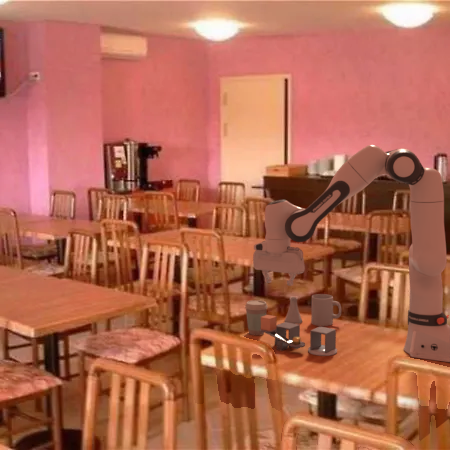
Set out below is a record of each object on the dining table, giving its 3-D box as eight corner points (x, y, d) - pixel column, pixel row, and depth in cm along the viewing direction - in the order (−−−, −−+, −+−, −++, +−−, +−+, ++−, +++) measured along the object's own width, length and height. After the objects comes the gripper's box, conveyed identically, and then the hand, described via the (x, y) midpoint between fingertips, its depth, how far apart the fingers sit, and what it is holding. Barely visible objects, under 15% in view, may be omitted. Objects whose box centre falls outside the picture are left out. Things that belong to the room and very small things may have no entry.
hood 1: (299, 343, 279) (299, 324, 278) (289, 347, 274) (289, 328, 273) (285, 340, 283) (285, 321, 282) (275, 344, 278) (275, 325, 277)
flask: (301, 325, 304) (301, 300, 303) (283, 324, 305) (283, 299, 304) (303, 320, 311) (303, 296, 310) (285, 319, 312) (285, 295, 311)
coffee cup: (265, 336, 288) (265, 305, 286) (243, 335, 290) (243, 304, 288) (269, 330, 296) (269, 300, 295) (247, 329, 298) (247, 299, 296)
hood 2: (335, 348, 270) (335, 329, 269) (326, 353, 265) (326, 333, 264) (319, 345, 274) (320, 326, 273) (310, 349, 269) (310, 330, 268)
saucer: (342, 350, 270) (342, 348, 270) (327, 357, 263) (327, 355, 262) (318, 345, 276) (318, 343, 276) (302, 352, 269) (302, 350, 269)
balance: (308, 351, 270) (308, 334, 269) (298, 355, 265) (298, 338, 264) (266, 342, 281) (266, 325, 280) (256, 346, 276) (256, 329, 275)
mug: (308, 325, 304) (308, 297, 302) (314, 319, 312) (315, 293, 310) (338, 328, 299) (338, 300, 298) (343, 322, 307) (344, 295, 305)
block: (276, 328, 276) (276, 316, 275) (269, 331, 273) (269, 318, 272) (267, 326, 279) (267, 314, 278) (260, 329, 275) (260, 317, 275)
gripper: (307, 246, 268) (308, 285, 270) (260, 242, 281) (261, 279, 283) (297, 249, 264) (298, 288, 265) (249, 245, 276) (251, 282, 278)
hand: (279, 284), depth 274 cm, fingers open, 8 cm apart
